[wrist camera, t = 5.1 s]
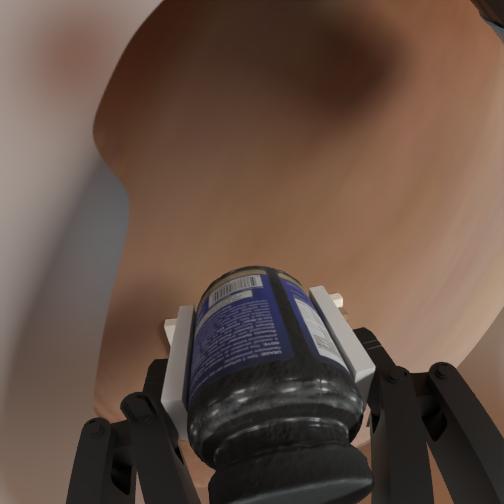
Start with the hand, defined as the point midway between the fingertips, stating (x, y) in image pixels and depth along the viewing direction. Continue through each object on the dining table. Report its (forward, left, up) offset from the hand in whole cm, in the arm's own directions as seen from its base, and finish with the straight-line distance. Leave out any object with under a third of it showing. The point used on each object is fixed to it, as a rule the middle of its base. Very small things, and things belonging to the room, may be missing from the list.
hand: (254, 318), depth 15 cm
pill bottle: (0, 0, -1) cm, 1 cm away
